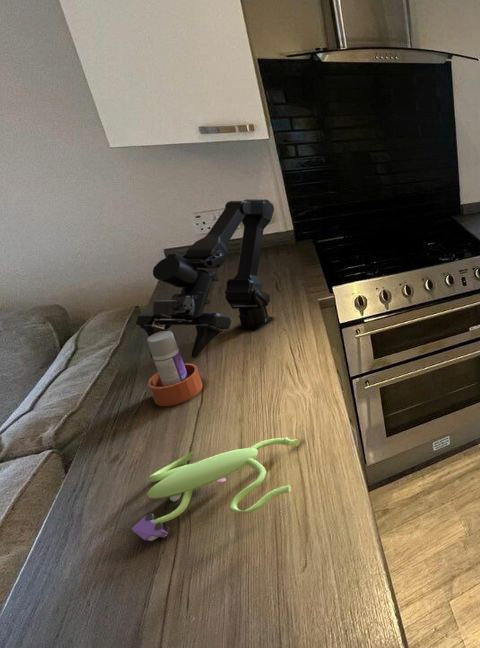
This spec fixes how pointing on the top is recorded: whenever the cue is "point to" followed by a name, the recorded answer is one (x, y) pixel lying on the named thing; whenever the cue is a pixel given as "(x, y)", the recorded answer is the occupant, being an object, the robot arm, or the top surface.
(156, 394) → the orange-brown bowl
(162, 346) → the container
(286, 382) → the top surface
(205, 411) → the top surface
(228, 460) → the figurine
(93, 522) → the top surface
